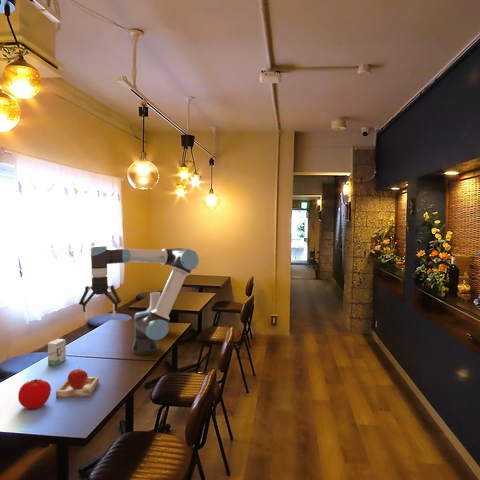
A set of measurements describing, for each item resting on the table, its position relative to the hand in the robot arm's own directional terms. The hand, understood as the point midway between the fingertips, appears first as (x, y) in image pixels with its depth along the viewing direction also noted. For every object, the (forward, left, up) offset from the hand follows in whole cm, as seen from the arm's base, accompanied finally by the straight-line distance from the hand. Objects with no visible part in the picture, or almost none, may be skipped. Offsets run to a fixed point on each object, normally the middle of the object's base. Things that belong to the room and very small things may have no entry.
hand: (100, 317), depth 195 cm
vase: (-20, -60, -27) cm, 69 cm away
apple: (+4, +25, -26) cm, 36 cm away
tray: (+4, +25, -27) cm, 37 cm away
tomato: (+17, +38, -27) cm, 50 cm away
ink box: (+27, -13, -27) cm, 40 cm away
